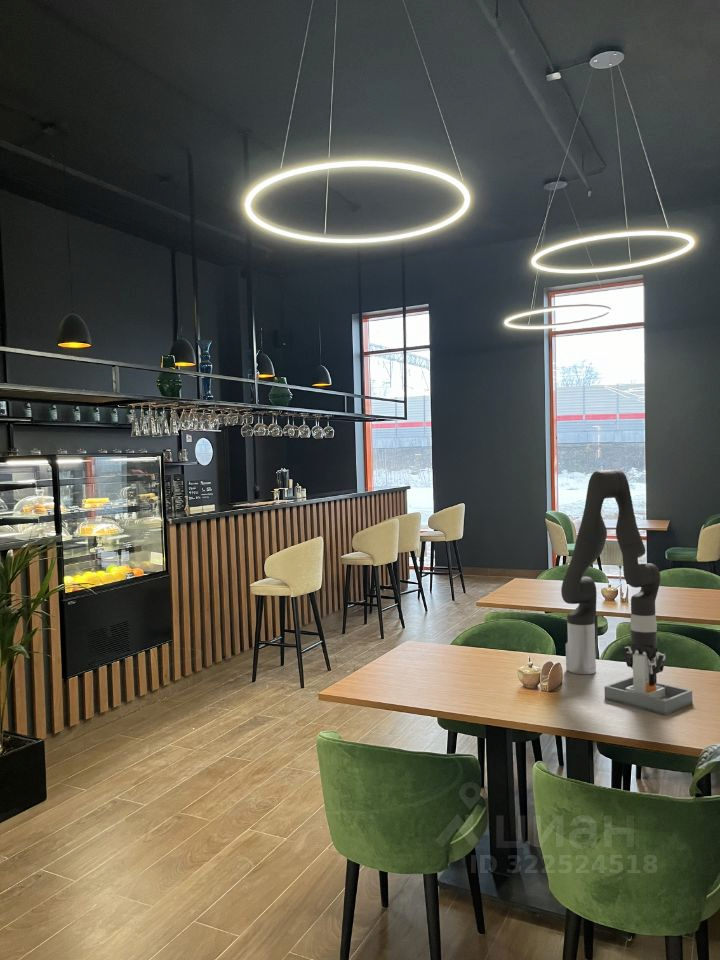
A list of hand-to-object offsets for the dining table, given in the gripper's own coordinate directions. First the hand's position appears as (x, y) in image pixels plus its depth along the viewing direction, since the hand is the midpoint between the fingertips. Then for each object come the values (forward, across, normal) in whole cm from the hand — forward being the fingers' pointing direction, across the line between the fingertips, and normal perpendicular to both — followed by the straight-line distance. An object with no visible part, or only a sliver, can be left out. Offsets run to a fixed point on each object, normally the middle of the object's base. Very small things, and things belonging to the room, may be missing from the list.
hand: (644, 683), depth 222 cm
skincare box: (+3, 0, 0) cm, 3 cm away
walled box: (+5, +2, -2) cm, 6 cm away
